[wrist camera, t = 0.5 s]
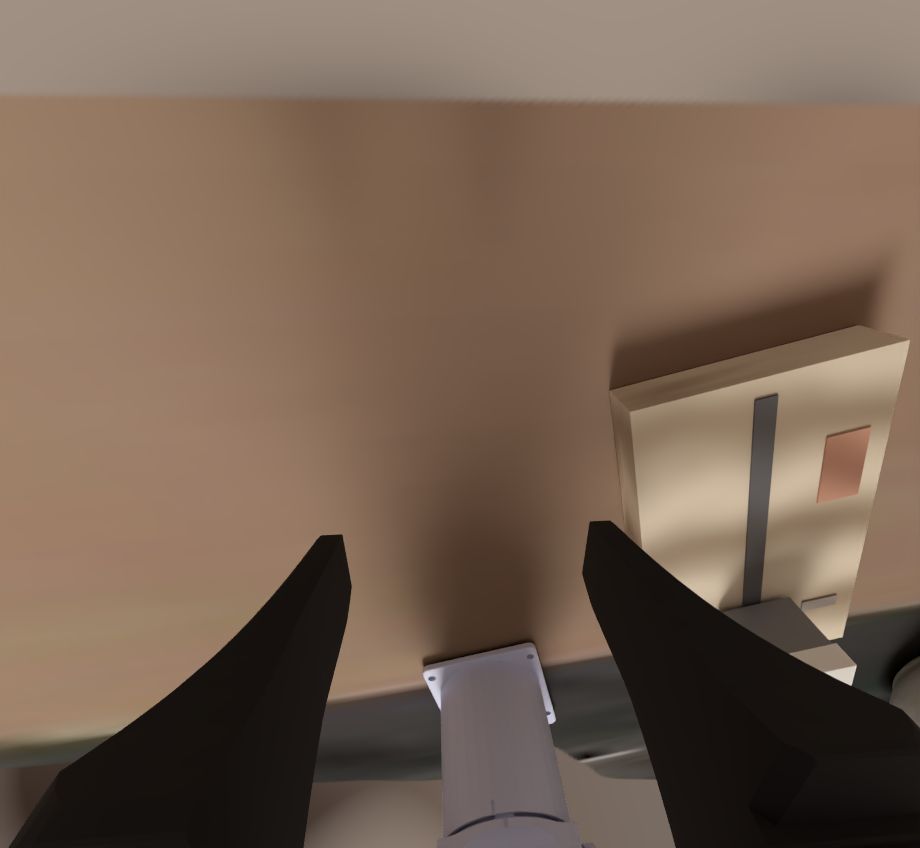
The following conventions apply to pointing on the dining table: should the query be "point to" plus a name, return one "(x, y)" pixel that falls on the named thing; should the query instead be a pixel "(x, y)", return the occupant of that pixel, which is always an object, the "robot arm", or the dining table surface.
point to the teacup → (908, 690)
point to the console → (762, 469)
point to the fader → (795, 636)
